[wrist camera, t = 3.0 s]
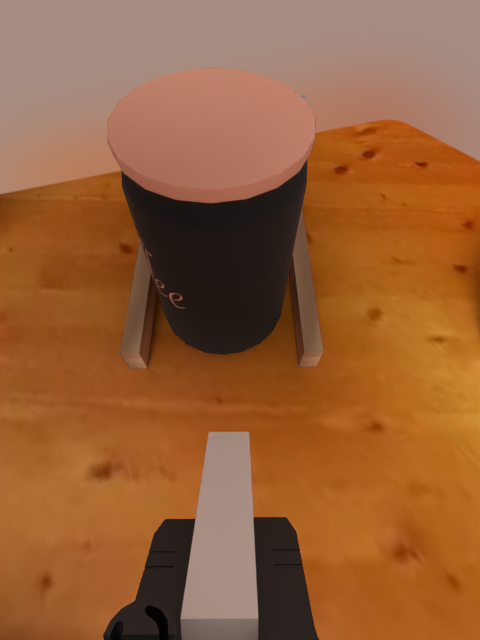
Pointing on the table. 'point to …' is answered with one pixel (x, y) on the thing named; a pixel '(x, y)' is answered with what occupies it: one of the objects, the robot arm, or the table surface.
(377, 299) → the table surface
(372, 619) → the table surface
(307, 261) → the channel
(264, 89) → the coffee jar
